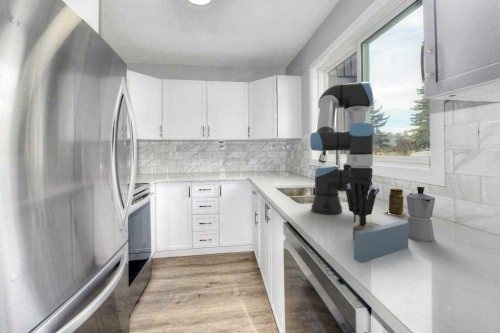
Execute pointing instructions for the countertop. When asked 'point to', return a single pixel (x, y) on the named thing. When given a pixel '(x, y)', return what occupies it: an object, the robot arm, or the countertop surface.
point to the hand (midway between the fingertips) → (359, 232)
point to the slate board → (380, 240)
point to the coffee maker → (420, 216)
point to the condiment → (396, 202)
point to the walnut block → (364, 227)
